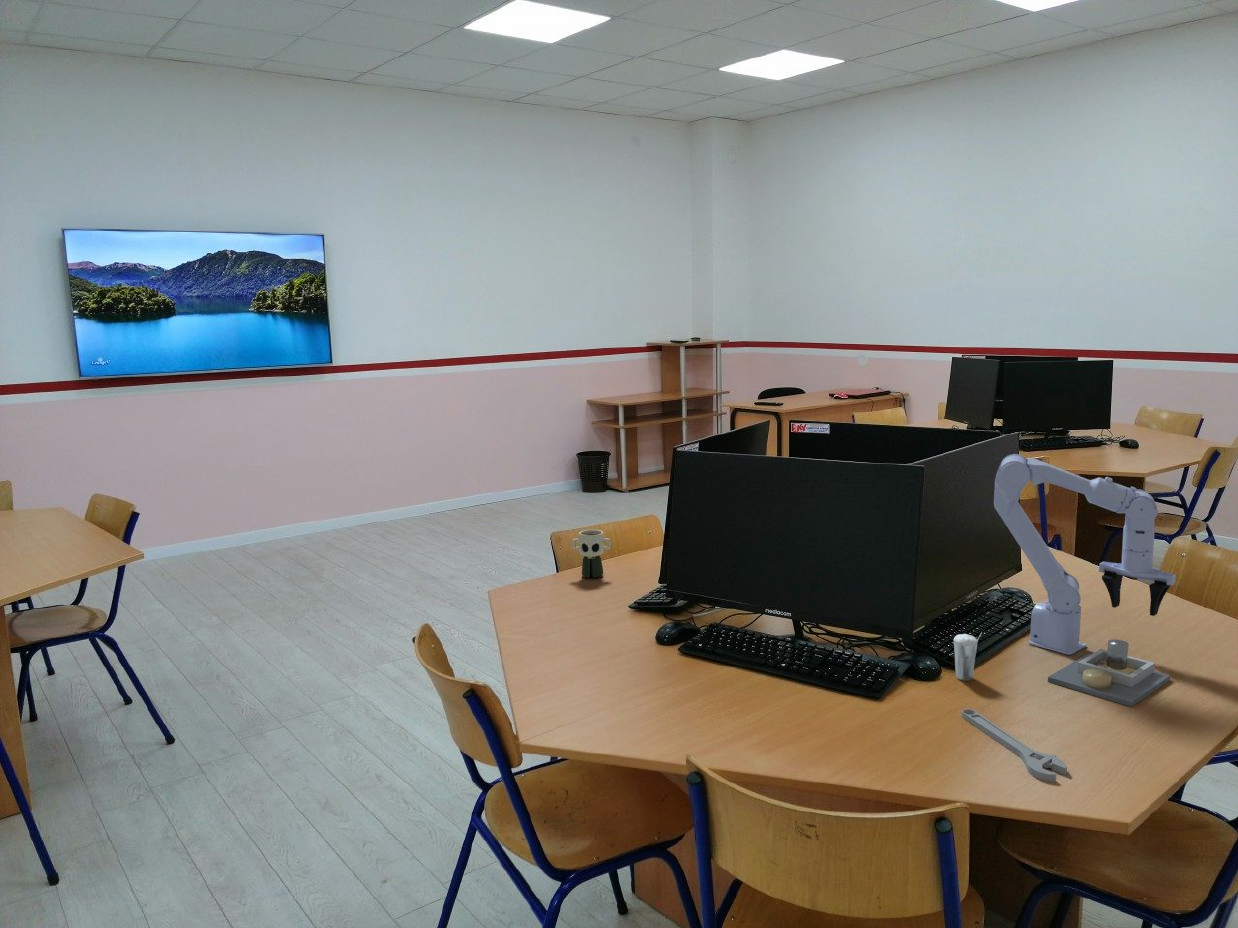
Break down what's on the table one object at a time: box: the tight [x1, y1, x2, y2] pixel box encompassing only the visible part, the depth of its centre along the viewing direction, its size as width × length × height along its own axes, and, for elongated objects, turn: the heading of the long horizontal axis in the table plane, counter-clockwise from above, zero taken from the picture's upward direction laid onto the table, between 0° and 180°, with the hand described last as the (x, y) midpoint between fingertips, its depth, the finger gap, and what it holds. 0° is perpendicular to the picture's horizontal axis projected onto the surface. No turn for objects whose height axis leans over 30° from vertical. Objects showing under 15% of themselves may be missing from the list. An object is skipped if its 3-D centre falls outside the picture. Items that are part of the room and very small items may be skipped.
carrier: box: [1047, 648, 1171, 708], centre depth 186 cm, size 16×18×3 cm
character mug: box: [572, 529, 611, 578], centre depth 266 cm, size 11×7×13 cm, turn 85°
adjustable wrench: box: [961, 708, 1068, 783], centre depth 162 cm, size 25×6×2 cm, turn 10°
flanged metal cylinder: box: [1097, 639, 1136, 674], centre depth 188 cm, size 7×7×6 cm
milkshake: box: [953, 631, 983, 682], centre depth 189 cm, size 4×5×10 cm
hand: (1134, 610), depth 197 cm, fingers open, 7 cm apart
